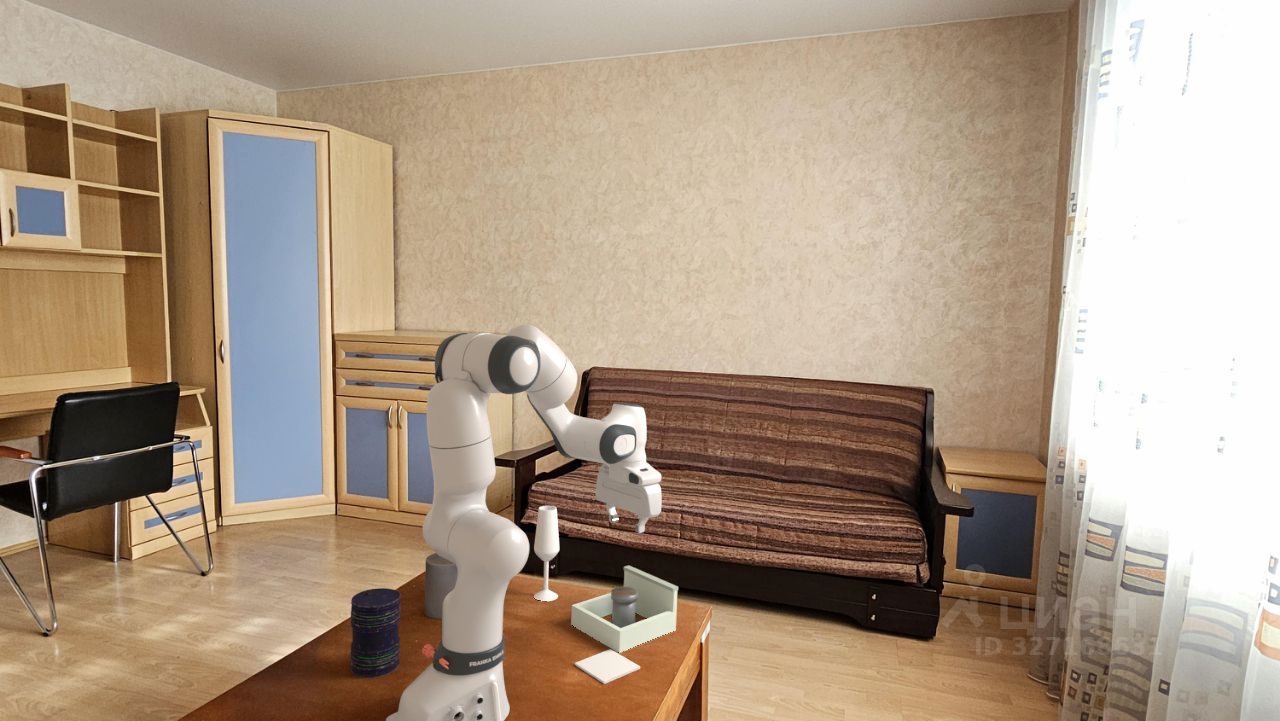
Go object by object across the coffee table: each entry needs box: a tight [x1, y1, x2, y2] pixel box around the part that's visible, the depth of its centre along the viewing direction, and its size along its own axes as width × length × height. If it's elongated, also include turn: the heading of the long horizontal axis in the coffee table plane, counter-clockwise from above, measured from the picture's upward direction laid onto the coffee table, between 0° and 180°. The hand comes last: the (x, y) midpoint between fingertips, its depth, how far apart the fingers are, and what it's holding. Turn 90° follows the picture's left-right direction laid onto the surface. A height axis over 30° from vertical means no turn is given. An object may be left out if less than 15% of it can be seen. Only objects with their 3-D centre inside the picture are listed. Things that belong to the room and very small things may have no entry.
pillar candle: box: [424, 552, 458, 620], centre depth 176 cm, size 10×10×15 cm
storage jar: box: [349, 587, 401, 679], centre depth 148 cm, size 10×10×15 cm
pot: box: [610, 586, 638, 628], centre depth 170 cm, size 6×6×9 cm
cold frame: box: [570, 565, 679, 654], centre depth 170 cm, size 18×18×11 cm
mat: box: [574, 648, 641, 685], centre depth 152 cm, size 10×10×1 cm
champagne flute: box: [533, 505, 561, 602], centre depth 187 cm, size 7×7×24 cm
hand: (626, 526), depth 168 cm, fingers open, 8 cm apart
